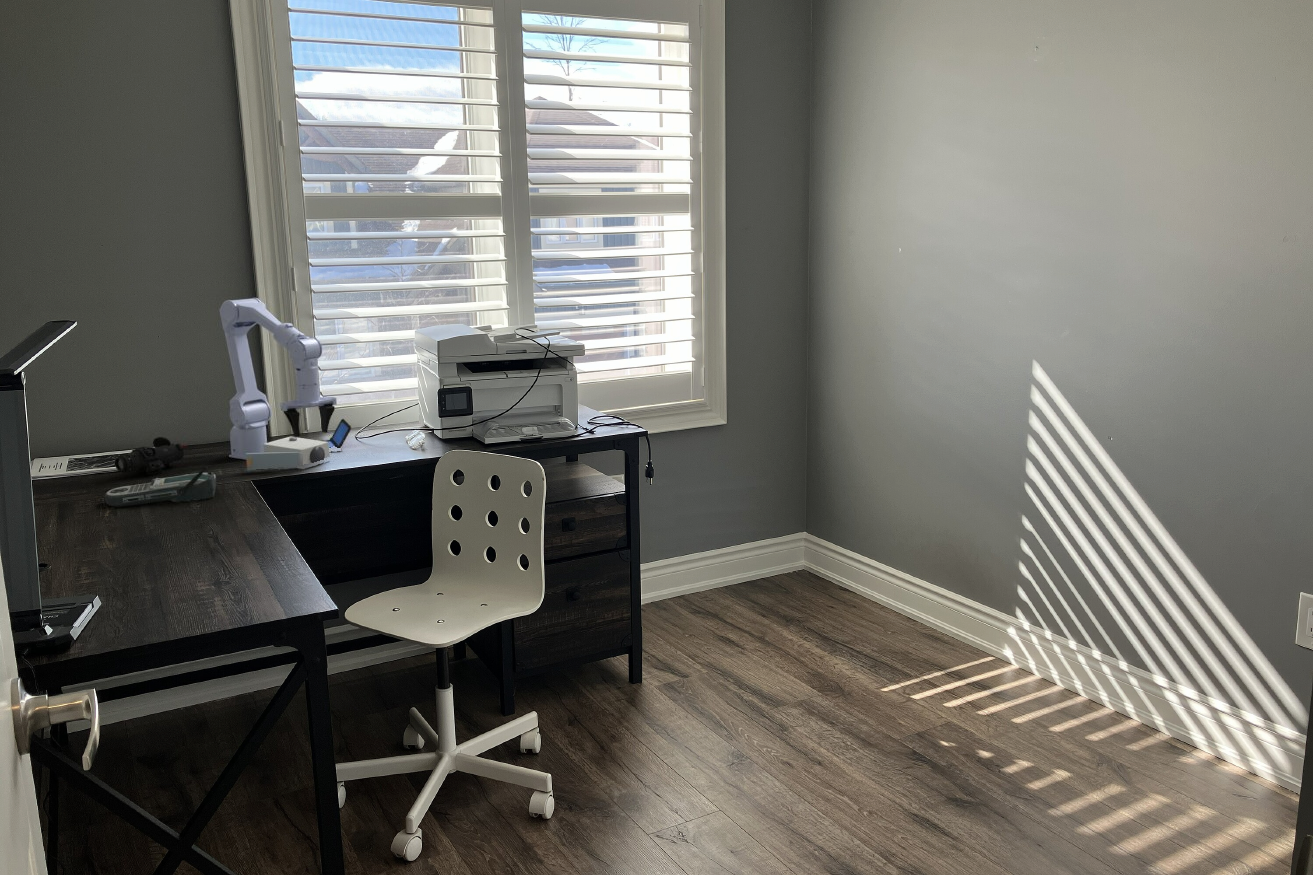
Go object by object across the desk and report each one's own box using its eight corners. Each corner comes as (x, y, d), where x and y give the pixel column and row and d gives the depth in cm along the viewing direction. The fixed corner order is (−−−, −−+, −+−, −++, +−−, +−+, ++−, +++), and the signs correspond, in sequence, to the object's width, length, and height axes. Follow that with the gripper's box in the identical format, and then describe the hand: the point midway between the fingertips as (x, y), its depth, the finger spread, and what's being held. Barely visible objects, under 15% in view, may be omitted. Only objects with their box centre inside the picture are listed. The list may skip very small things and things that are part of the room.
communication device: (110, 498, 238) (105, 463, 236) (217, 488, 247) (213, 454, 245) (102, 512, 227) (97, 475, 225) (214, 501, 236) (211, 466, 234)
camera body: (264, 463, 269) (262, 441, 268) (291, 455, 278) (290, 434, 277) (305, 470, 263) (304, 448, 262) (332, 461, 272) (330, 440, 271)
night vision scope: (122, 489, 252) (101, 461, 254) (184, 474, 267) (163, 448, 269) (133, 469, 248) (111, 440, 250) (194, 455, 264) (174, 428, 266)
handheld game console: (307, 445, 291) (305, 421, 289) (344, 442, 296) (343, 417, 294) (314, 455, 280) (312, 429, 278) (353, 451, 285) (351, 426, 283)
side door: (303, 467, 263) (302, 451, 262) (302, 469, 262) (301, 453, 261) (248, 469, 261) (246, 453, 260) (246, 471, 259) (245, 454, 258)
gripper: (286, 389, 252) (290, 440, 255) (340, 383, 261) (343, 432, 264) (275, 385, 257) (279, 435, 260) (329, 379, 266) (331, 428, 269)
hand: (310, 433), depth 262 cm, fingers open, 7 cm apart
